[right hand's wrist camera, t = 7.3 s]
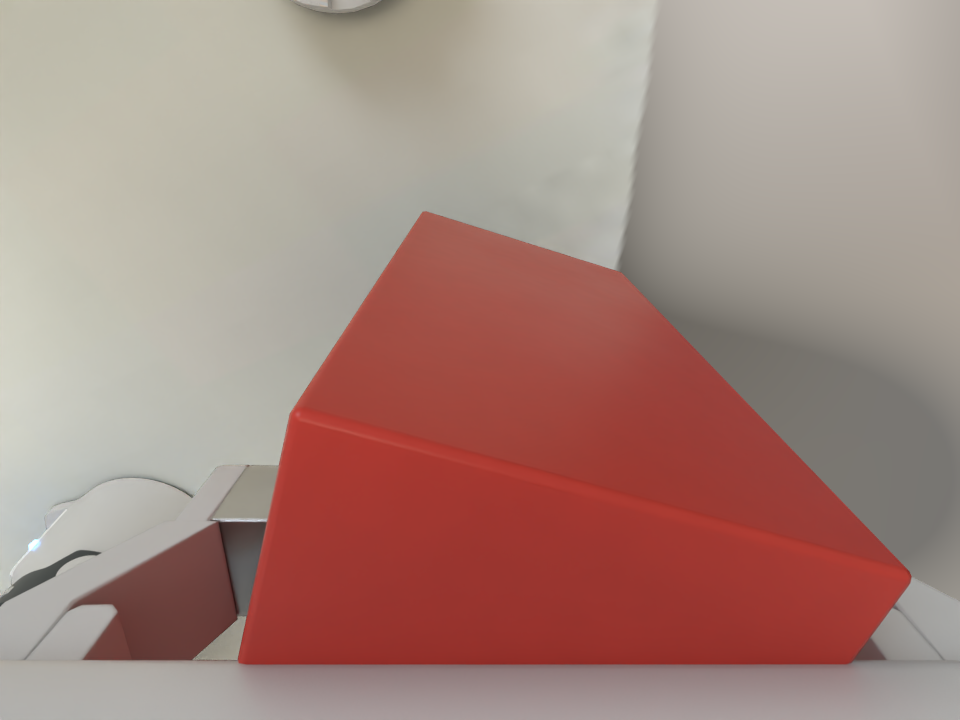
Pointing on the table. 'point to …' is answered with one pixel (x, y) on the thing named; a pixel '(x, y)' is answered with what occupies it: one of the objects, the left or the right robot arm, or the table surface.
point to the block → (544, 487)
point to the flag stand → (336, 5)
